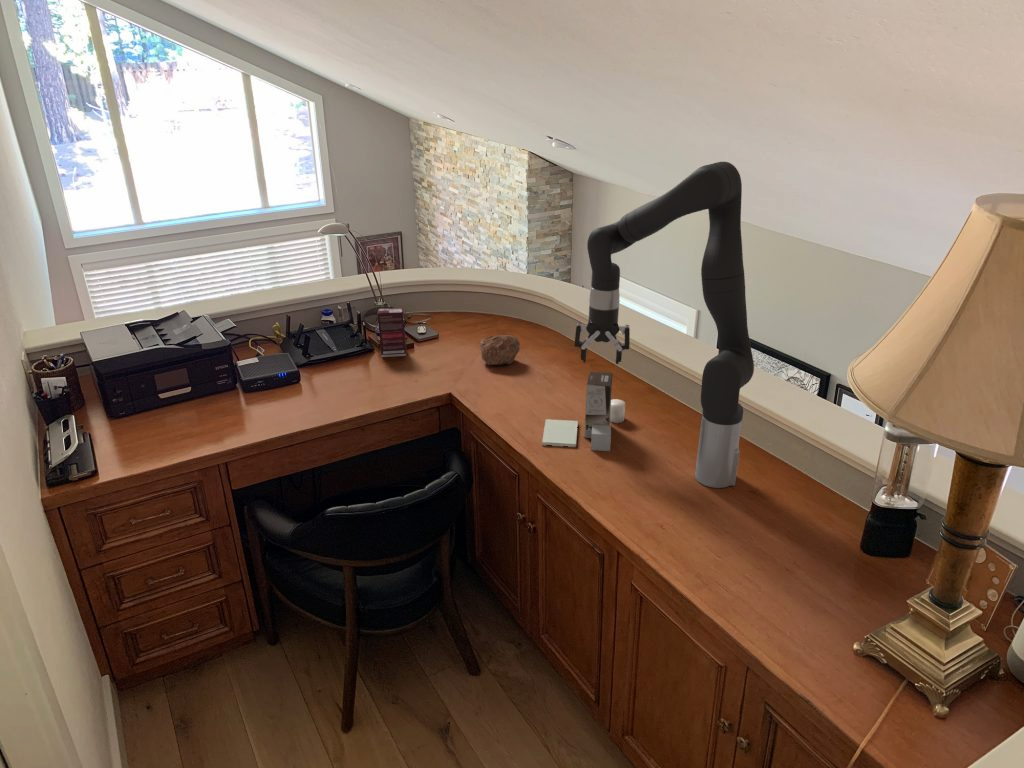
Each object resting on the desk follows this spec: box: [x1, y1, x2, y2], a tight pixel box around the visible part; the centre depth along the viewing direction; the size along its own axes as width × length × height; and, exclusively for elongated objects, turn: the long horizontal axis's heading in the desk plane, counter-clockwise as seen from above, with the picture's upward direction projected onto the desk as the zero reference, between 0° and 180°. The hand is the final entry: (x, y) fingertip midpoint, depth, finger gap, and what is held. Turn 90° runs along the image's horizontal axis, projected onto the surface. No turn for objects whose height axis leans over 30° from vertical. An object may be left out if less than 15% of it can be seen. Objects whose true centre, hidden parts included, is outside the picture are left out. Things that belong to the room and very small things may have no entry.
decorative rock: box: [478, 334, 521, 366], centre depth 249 cm, size 13×11×10 cm
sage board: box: [541, 418, 579, 448], centre depth 206 cm, size 9×13×1 cm
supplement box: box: [376, 307, 407, 358], centre depth 254 cm, size 9×5×16 cm, turn 97°
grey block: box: [590, 425, 612, 452], centre depth 199 cm, size 5×5×5 cm
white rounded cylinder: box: [610, 398, 626, 424], centre depth 213 cm, size 5×5×5 cm
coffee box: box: [583, 371, 613, 439], centre depth 204 cm, size 9×6×16 cm
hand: (600, 362), depth 199 cm, fingers open, 8 cm apart
